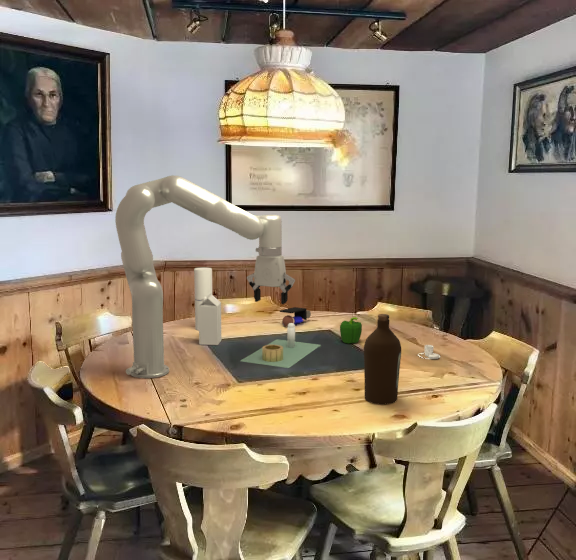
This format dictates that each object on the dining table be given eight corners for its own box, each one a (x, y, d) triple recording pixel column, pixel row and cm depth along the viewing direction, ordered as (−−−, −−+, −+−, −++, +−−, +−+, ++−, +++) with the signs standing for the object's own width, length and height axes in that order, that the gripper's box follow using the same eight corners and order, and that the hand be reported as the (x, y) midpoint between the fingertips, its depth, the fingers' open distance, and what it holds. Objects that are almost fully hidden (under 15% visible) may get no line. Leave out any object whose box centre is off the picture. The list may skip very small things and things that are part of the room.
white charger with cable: (440, 361, 222) (441, 350, 222) (417, 360, 224) (417, 349, 223) (440, 354, 231) (440, 343, 230) (417, 353, 232) (418, 342, 232)
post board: (288, 372, 209) (288, 341, 207) (239, 365, 216) (239, 335, 214) (321, 348, 236) (321, 321, 234) (276, 343, 243) (276, 316, 241)
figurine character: (297, 323, 280) (277, 326, 267) (298, 305, 279) (279, 308, 266) (310, 325, 276) (291, 328, 263) (312, 307, 275) (292, 310, 263)
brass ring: (277, 362, 214) (277, 351, 213) (258, 360, 216) (258, 348, 216) (286, 357, 220) (286, 346, 219) (267, 354, 223) (267, 343, 222)
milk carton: (221, 340, 246) (221, 292, 242) (217, 345, 239) (217, 295, 235) (203, 340, 246) (202, 291, 243) (199, 345, 240) (198, 295, 236)
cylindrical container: (193, 327, 265) (192, 268, 260) (209, 326, 268) (208, 267, 263) (198, 331, 258) (197, 270, 254) (215, 330, 261) (214, 269, 257)
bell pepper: (334, 341, 245) (335, 316, 243) (349, 338, 250) (350, 313, 249) (350, 346, 239) (351, 320, 237) (365, 342, 244) (366, 317, 242)
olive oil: (365, 406, 180) (368, 319, 175) (359, 392, 190) (361, 310, 186) (403, 405, 180) (406, 319, 176) (394, 392, 191) (398, 310, 186)
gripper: (242, 252, 213) (242, 302, 216) (290, 254, 206) (290, 306, 209) (251, 249, 220) (252, 298, 223) (298, 251, 213) (298, 302, 216)
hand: (270, 302), depth 216 cm, fingers open, 9 cm apart
